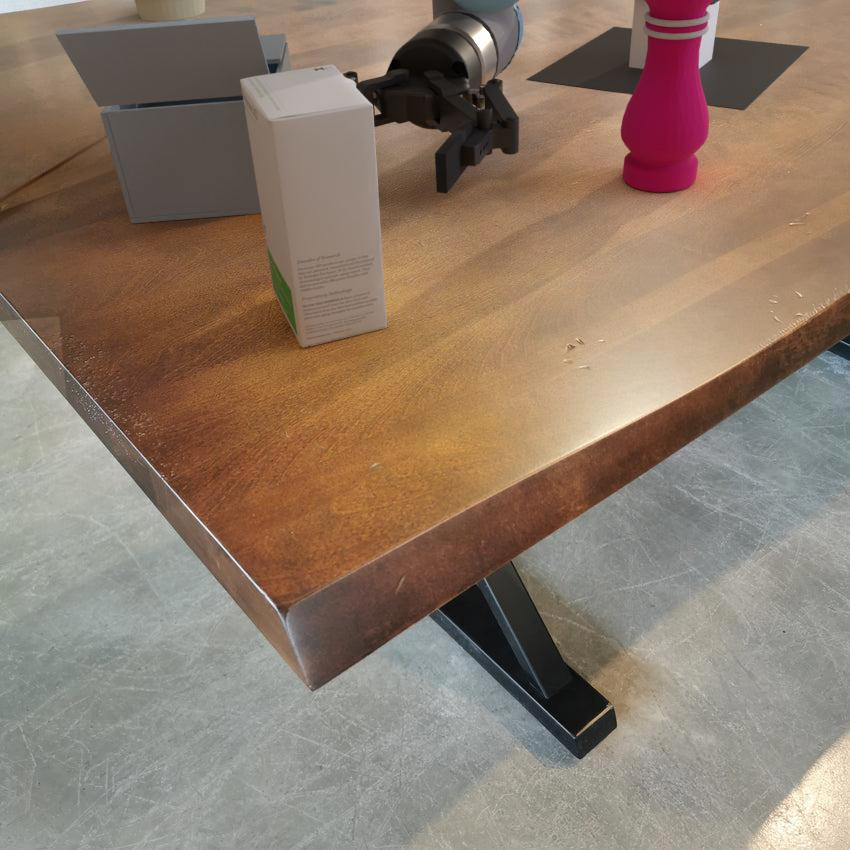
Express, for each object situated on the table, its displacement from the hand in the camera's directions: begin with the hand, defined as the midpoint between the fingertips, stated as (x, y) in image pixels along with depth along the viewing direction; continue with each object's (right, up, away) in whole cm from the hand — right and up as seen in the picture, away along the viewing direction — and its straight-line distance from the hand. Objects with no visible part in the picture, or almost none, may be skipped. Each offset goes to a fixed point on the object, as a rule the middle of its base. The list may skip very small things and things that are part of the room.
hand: (346, 166), depth 61 cm
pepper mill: (+26, +4, +17) cm, 31 cm away
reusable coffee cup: (-31, +41, +69) cm, 86 cm away
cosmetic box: (-1, -10, +2) cm, 10 cm away
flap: (-14, +9, +5) cm, 17 cm away
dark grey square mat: (+34, +24, +43) cm, 60 cm away
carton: (-14, +5, +22) cm, 27 cm away
